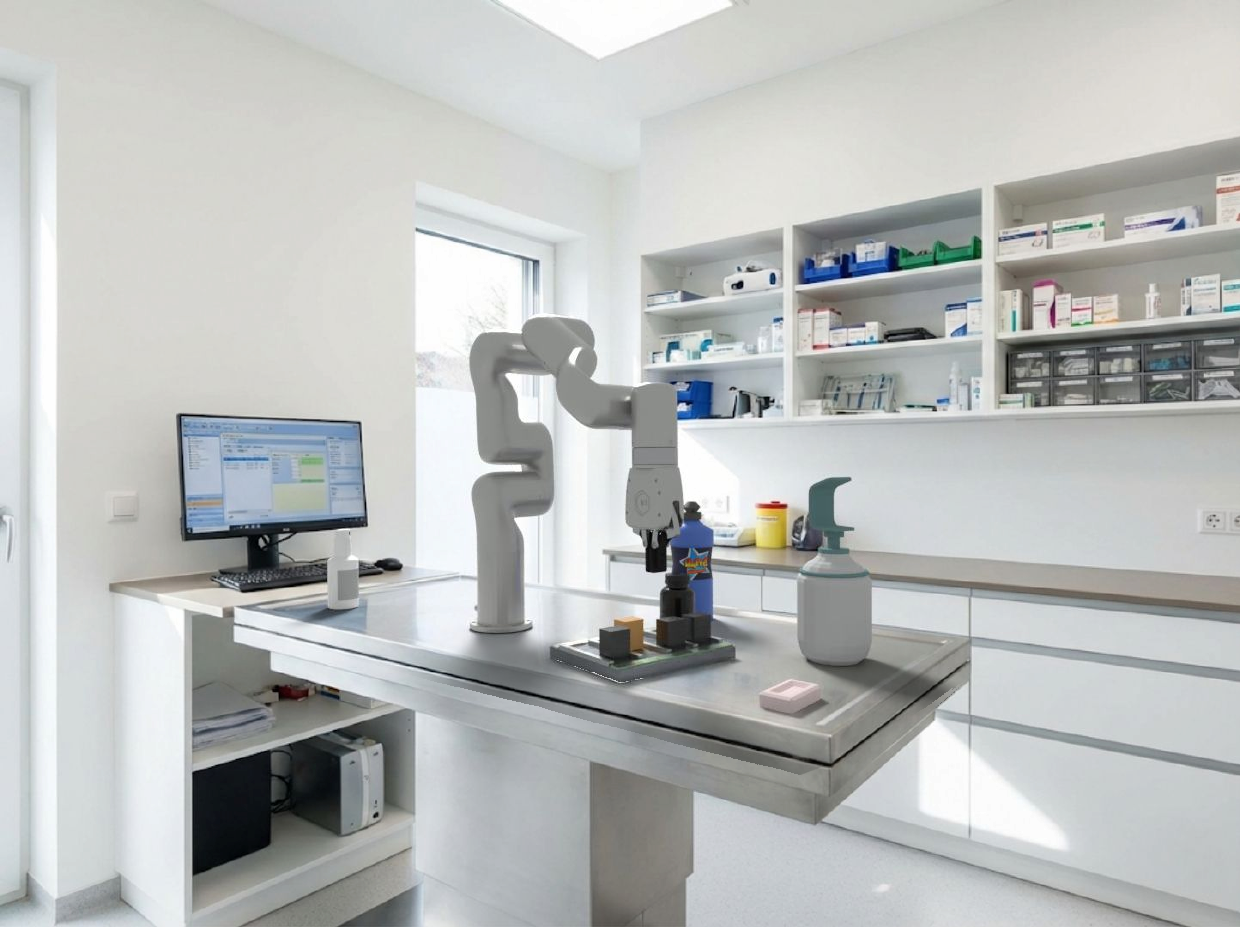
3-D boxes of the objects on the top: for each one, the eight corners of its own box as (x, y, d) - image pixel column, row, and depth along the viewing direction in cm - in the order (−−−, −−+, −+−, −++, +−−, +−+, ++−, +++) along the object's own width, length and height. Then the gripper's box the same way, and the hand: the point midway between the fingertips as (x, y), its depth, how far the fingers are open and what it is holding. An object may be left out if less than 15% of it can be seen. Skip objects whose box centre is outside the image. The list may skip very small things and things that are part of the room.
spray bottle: (352, 610, 183) (352, 530, 183) (323, 610, 183) (322, 530, 183) (362, 604, 190) (362, 528, 189) (334, 604, 190) (333, 528, 190)
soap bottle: (827, 672, 129) (827, 478, 129) (782, 654, 141) (781, 476, 140) (887, 664, 134) (887, 477, 134) (839, 647, 146) (839, 475, 145)
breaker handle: (614, 648, 137) (614, 619, 137) (632, 645, 139) (632, 616, 139) (624, 652, 135) (624, 622, 135) (643, 648, 137) (643, 619, 137)
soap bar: (757, 708, 112) (757, 691, 112) (788, 693, 119) (788, 677, 119) (792, 716, 109) (792, 698, 109) (822, 700, 116) (822, 684, 116)
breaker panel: (549, 657, 139) (549, 617, 139) (660, 637, 154) (660, 600, 154) (620, 683, 123) (620, 638, 123) (735, 658, 139) (735, 617, 138)
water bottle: (719, 622, 168) (718, 502, 167) (675, 624, 166) (675, 503, 166) (707, 613, 177) (706, 500, 177) (665, 615, 175) (665, 500, 175)
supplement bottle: (693, 640, 152) (692, 577, 152) (657, 639, 153) (656, 576, 153) (696, 632, 158) (696, 571, 158) (662, 631, 160) (662, 570, 160)
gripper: (608, 459, 135) (610, 569, 135) (667, 459, 123) (668, 579, 123) (643, 459, 139) (645, 565, 139) (703, 458, 127) (704, 574, 127)
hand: (656, 571), depth 131 cm, fingers closed
